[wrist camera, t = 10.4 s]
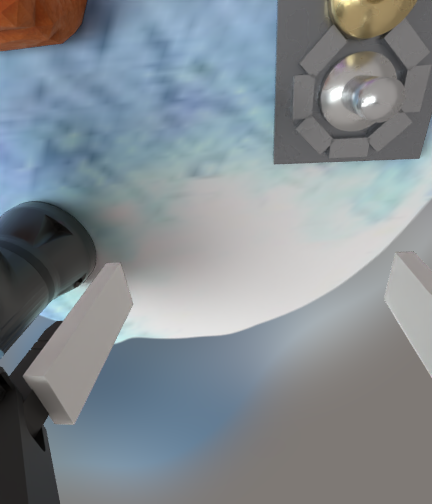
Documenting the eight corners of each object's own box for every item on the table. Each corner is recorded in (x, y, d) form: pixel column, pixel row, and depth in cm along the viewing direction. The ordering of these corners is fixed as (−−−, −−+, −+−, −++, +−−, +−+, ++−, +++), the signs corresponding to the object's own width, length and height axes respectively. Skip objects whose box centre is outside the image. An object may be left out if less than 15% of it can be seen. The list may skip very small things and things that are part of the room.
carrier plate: (273, 161, 37) (274, 167, 34) (280, -99, 25) (281, -116, 23) (413, 155, 34) (424, 161, 32) (489, -134, 23) (514, -157, 21)
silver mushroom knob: (316, 131, 33) (332, 149, 26) (321, 56, 29) (341, 53, 22) (383, 126, 32) (420, 143, 25) (398, 47, 28) (445, 41, 21)
